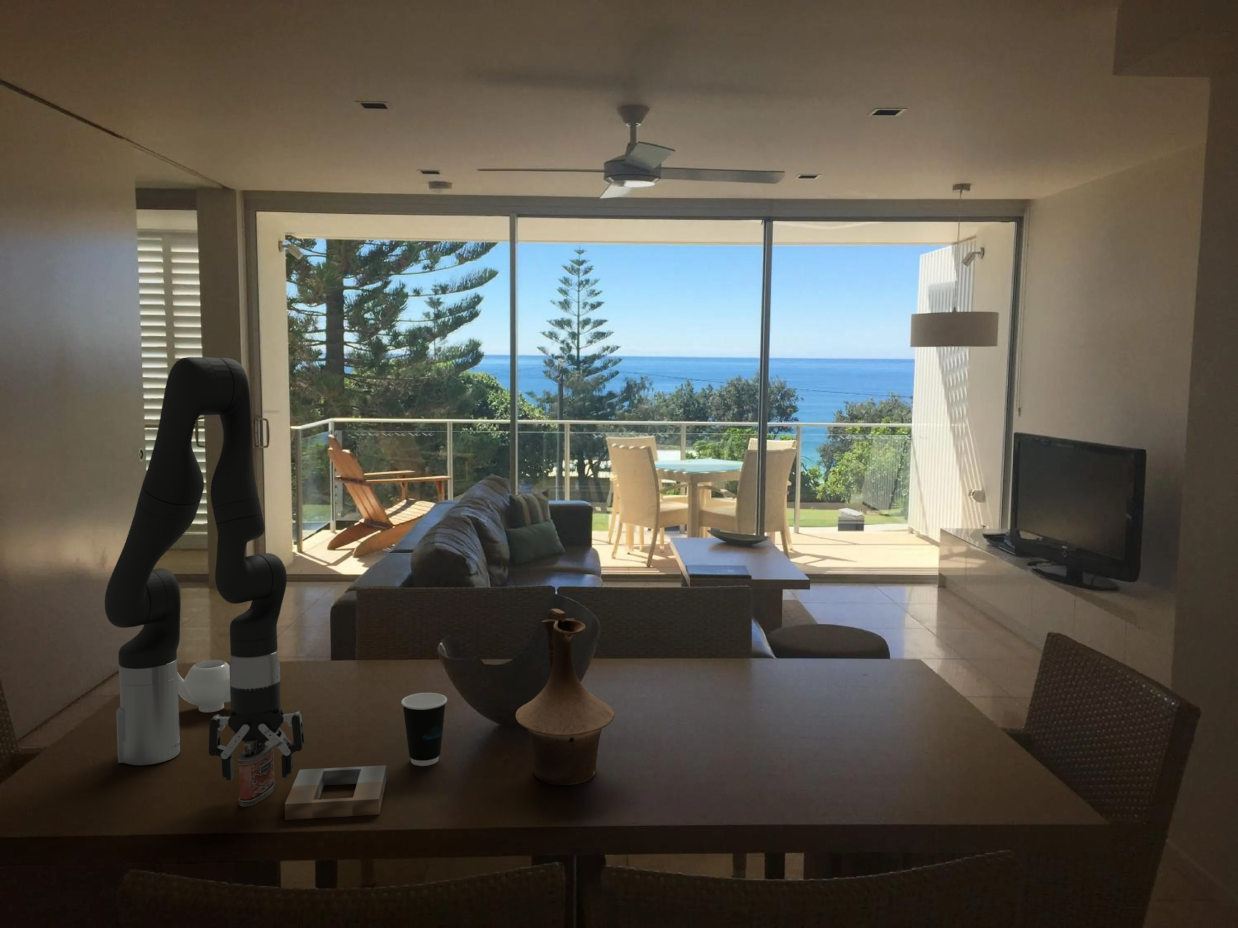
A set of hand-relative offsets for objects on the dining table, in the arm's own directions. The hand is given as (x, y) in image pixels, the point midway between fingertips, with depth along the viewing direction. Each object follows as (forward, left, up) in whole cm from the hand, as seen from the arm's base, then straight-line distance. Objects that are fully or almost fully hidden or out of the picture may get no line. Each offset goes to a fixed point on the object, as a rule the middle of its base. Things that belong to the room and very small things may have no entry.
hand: (258, 777), depth 156 cm
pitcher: (+50, +3, -3) cm, 50 cm away
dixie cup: (+26, +11, -3) cm, 28 cm away
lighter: (0, 0, -3) cm, 3 cm away
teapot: (-18, +43, -3) cm, 47 cm away
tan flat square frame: (+13, -3, -3) cm, 13 cm away
